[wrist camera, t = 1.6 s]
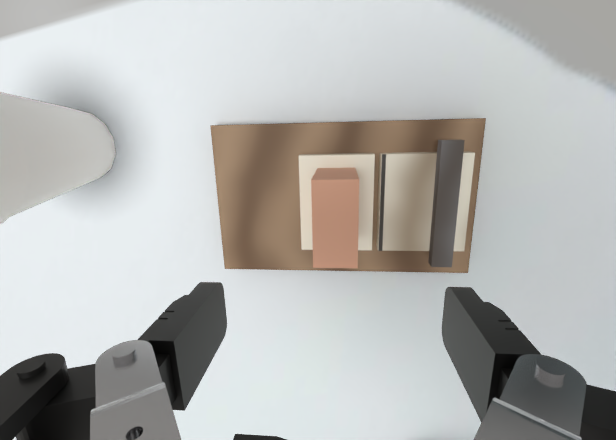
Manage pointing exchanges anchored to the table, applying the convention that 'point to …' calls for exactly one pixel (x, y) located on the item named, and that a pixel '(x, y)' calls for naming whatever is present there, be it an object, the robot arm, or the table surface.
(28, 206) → the foam cup
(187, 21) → the table surface
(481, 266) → the table surface
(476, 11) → the table surface
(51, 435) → the robot arm
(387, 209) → the stand
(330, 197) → the stub
